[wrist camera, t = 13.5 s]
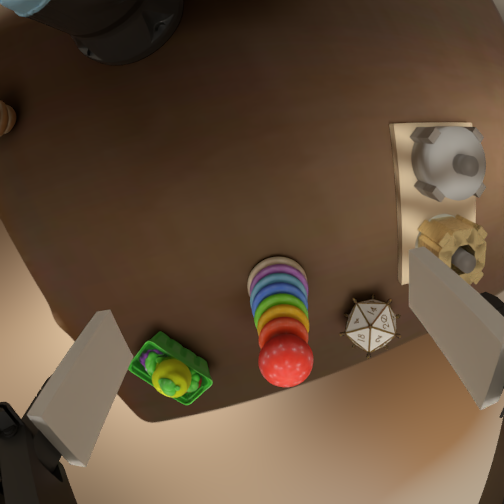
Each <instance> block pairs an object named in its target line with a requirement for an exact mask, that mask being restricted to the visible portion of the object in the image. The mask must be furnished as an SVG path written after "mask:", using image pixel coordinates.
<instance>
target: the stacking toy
mask: <svg viewBox="0 0 504 504" xmlns="http://www.w3.org/2000/svg"><path fill="white" fill-rule="evenodd" d="M247 288H248V293H249V296H250V304H251V308H252V313H253V316H254V322H255V326H256V328H257V331H258V335H259V345H260V348H261V351H260V354H259V368H260V371H261V373H262V375H263V376H264V378H265V379H266V380H267V381H269V382H270V383H272V384H273V385H276V386H279V387H292V386H295V385H298V384H300V383H301V382H303V381H304V380H305V379H306V378H307V377H308V375H309V374H310V372H311V370H312V366H313V354H312V350H311V348H310V347H309V345H308V344H307V343H308V331H309V321H308V303H307V297H308V283H307V277H306V274H305V271H304V270H303V268H302V267H301V266H300V265H299V264H298V263H297V262H295V261H294V260H292V259H289V258H286V257H271V258H268V259H265V260H263V261H261V262H260V263H258V264H257V265H256V266H255V267H254V268H253V270H252V271H251V273H250V275H249V278H248V283H247Z"/></svg>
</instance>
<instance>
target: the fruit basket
mask: <svg viewBox="0 0 504 504" xmlns="http://www.w3.org/2000/svg"><path fill="white" fill-rule="evenodd" d="M128 369H129V371H131V372H132V373H133V374H135V375H136V376H138V377H140V378H141V379H143V380H144V381H146V382H147V383H149V384H151V385H152V386H154V387H155V389H156V390H157V391H158V392H160V393H161V394H163V395H165V396H167V397H172V398H174V399H175V400H177V401H179V402H180V403H182V404H184V405H189V404H191V403H192V402H193V401H194V400H196V399H197V398H198V397H199V396H200V395H201V394H202V393H203V392H204V391H206V390H207V389H208V388H209V387H210V386H211V385H212V383H213V382H212V379H211V377H210V374H209V369H208V365H207V361H205V360H204V359H202V358H201V357H198V356H196V355H195V354H194V353H193V352H191V351H190V350H188V349H186V348H183V346H182V345H181V344H179V343H178V342H176V341H175V340H172V339H170V338H169V337H168V336H167V335H166V334H164V333H163V332H161V331H160V332H158V333H157V334H156V335H155V336H154V337H153V338H152V339H150V340H148V341H147V342H146V343H145V344H144V345H143V347H142V348H141V349H140V351H139V352H138V353H137V355H136V356H135V357H134V358H133V360H132V361H131V363H130V365H129V367H128Z"/></svg>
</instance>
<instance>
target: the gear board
mask: <svg viewBox="0 0 504 504" xmlns="http://www.w3.org/2000/svg"><path fill="white" fill-rule="evenodd" d="M389 128H390V135H391V144H392V153H393V163H394V174H395V186H396V202H397V224H398V281H399V282H400V283H401V285H403V284H408V283H409V250H410V249H414V248H418V237H419V236H420V234H421V233H420V232H419V231H418V230H417V229H418V228H419V227H420V225H421V224H422V223H423V221H424V220H425V219H426V220H427V221H429V222H430V221H431V220H432V219H434V218H441V217H447V216H452V217H454V218H455V217H456V215H457V214H458V215H460V216H462V217H464V218H466V219H468V220H470V221H472V222H474V223H475V220H476V197H480V196H481V194H482V193H483V191H484V190H485V188H486V186H485V185H484V184H483V179H484V175H485V169H486V160H485V154H484V150H483V147H482V145H481V141H482V140H483V138H484V137H483V136H482V134H481V133H480V132H479V130H478V129H477V128H476V127H472V123H464V122H431V123H398V124H389ZM451 263H452V264H454V265H455V266H456V267H458V268H459V269H460V270H461V271H463V272H464V273H466V274H468V273H470V272H472V271H473V270H474V268H475V266H476V258H475V257H474V256H473V255H471V254H470V253H468V252H467V251H465V250H464V249H462V248H461V247H458V249H457V250H456V251H455V253H454V254H453V255H452V257H451Z"/></svg>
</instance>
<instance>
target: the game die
mask: <svg viewBox="0 0 504 504" xmlns="http://www.w3.org/2000/svg"><path fill="white" fill-rule="evenodd" d="M371 298H372V299H370V300H365V301H361V302H357V300H356V299H354V298H353V302H354V303H355V305H354V307H353V309H352V310H351V312H350V314H349V315H348V314H347V313H346V314H344V315H345V317H348V319H347V323H346V328H345V332H342V333H340V334H339V335H340V336H344V335H346V336H347V337H348V338H349V339H350V340H351V341H352V342H353V343H354V345H353V346H352V348H355V347H356V346H358V347H359V348H361V349H362V350H364V351H365V352H367V353H368V354H367V356H366V357H367V358H368V359H369V358H370V357H371V356H370V353H371V352H373V351H376V350H378V349H380V348H382V347H384V348H385V349H387V350H388V347H387V344H388V343H389V342H390V341H391V340H392V339H393V338H394V337H395V336H396V337H398V338H400V337H401V335H400V334H397V333H396V318H400V316H401V315H399V314H398V315H396V316H395V314H394V312H393V311H392V309H391V307H390V305H389V304H390V303H391V302H392V299H388V302H387V303H386V302H382V301H379V300H376V299H374V298H375V295H374V294H373V295H372V297H371Z"/></svg>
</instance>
